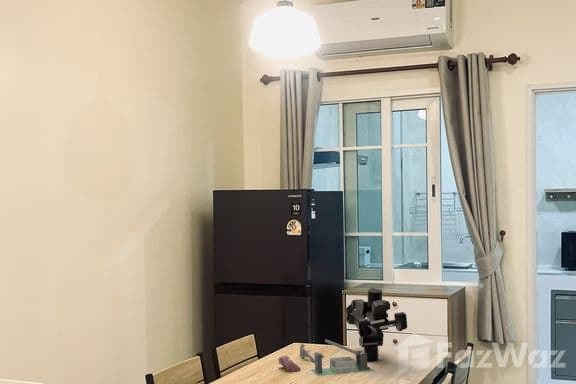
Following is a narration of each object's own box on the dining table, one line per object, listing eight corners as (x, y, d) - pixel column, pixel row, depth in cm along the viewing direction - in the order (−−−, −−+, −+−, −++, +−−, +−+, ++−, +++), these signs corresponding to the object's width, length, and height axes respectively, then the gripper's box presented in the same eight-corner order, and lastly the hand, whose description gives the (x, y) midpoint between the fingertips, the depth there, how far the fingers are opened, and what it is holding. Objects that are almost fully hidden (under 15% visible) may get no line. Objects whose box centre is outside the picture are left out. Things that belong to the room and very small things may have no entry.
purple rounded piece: (282, 372, 263) (274, 357, 262) (291, 365, 265) (283, 350, 264) (292, 377, 254) (284, 362, 253) (302, 371, 256) (294, 355, 255)
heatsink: (329, 368, 258) (329, 357, 258) (349, 366, 260) (349, 356, 260) (336, 373, 250) (335, 362, 250) (356, 371, 252) (356, 360, 252)
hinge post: (353, 366, 260) (353, 350, 260) (363, 365, 261) (362, 350, 261) (359, 370, 253) (359, 354, 253) (369, 369, 254) (369, 353, 254)
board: (310, 371, 257) (310, 369, 257) (364, 366, 262) (364, 364, 262) (317, 377, 247) (317, 375, 247) (373, 371, 253) (373, 370, 253)
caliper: (299, 358, 282) (299, 343, 282) (302, 357, 282) (301, 342, 282) (320, 367, 263) (319, 351, 263) (322, 367, 263) (322, 351, 264)
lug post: (315, 371, 254) (314, 352, 255) (321, 370, 255) (320, 351, 255) (318, 373, 250) (317, 354, 251) (324, 372, 251) (323, 354, 251)
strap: (324, 342, 255) (326, 338, 255) (360, 356, 258) (362, 352, 259) (327, 343, 252) (328, 339, 252) (363, 358, 255) (365, 354, 256)
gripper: (351, 302, 259) (362, 315, 243) (397, 294, 261) (411, 306, 246) (354, 329, 260) (365, 344, 245) (400, 321, 263) (414, 335, 248)
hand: (389, 332), depth 246 cm, fingers open, 9 cm apart
